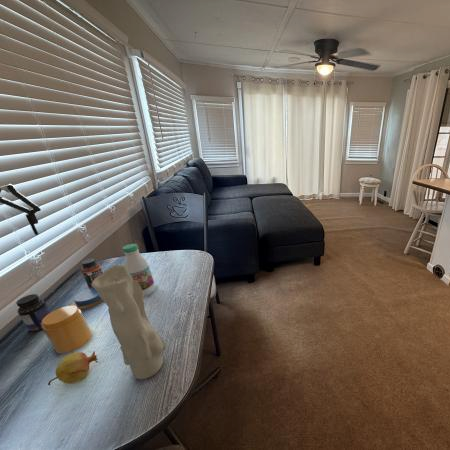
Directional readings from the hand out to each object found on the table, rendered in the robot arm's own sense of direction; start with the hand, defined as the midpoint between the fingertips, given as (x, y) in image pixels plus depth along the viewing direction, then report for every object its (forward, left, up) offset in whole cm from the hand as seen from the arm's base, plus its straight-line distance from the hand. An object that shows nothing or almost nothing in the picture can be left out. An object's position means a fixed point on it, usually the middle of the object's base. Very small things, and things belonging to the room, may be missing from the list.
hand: (5, 241), depth 73 cm
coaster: (+10, +8, -29) cm, 31 cm away
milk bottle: (+28, +12, -29) cm, 42 cm away
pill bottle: (+4, -5, -29) cm, 30 cm away
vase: (+50, -21, -29) cm, 61 cm away
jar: (+21, -12, -29) cm, 38 cm away
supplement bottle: (+5, +17, -29) cm, 34 cm away
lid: (+10, +8, -27) cm, 30 cm away
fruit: (+32, -23, -29) cm, 49 cm away
